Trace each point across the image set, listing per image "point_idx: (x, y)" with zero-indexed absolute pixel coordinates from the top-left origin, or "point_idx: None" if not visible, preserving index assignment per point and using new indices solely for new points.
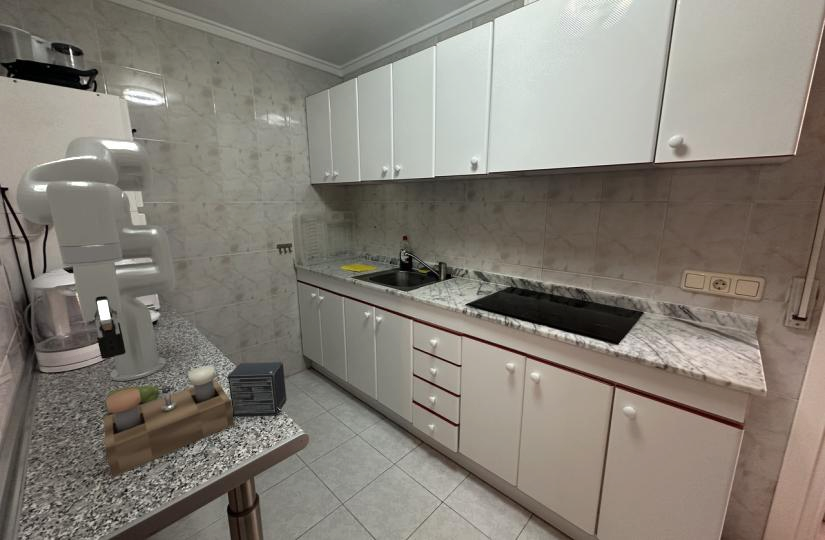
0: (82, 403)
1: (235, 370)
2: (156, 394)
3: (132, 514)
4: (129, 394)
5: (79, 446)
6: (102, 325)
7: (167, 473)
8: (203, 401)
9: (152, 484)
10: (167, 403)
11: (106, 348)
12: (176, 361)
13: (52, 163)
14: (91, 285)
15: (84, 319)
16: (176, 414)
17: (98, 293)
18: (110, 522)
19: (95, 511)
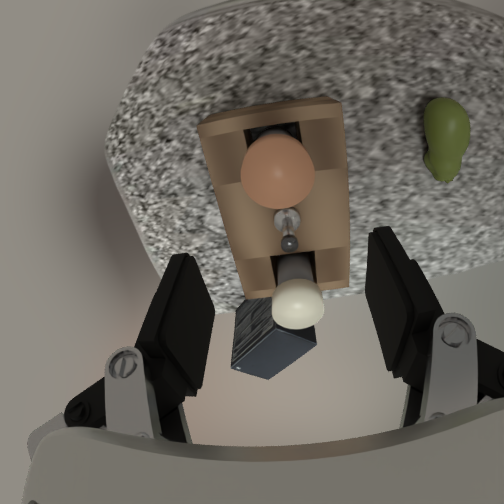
0: (493, 71)
1: (286, 339)
2: (433, 174)
3: (120, 158)
4: (273, 189)
5: (350, 54)
6: (41, 428)
7: (177, 187)
8: (278, 264)
9: (163, 171)
10: (283, 223)
11: (148, 310)
12: None
13: None
14: None
15: (35, 452)
16: (251, 228)
17: None
18: (118, 137)
19: (145, 113)
